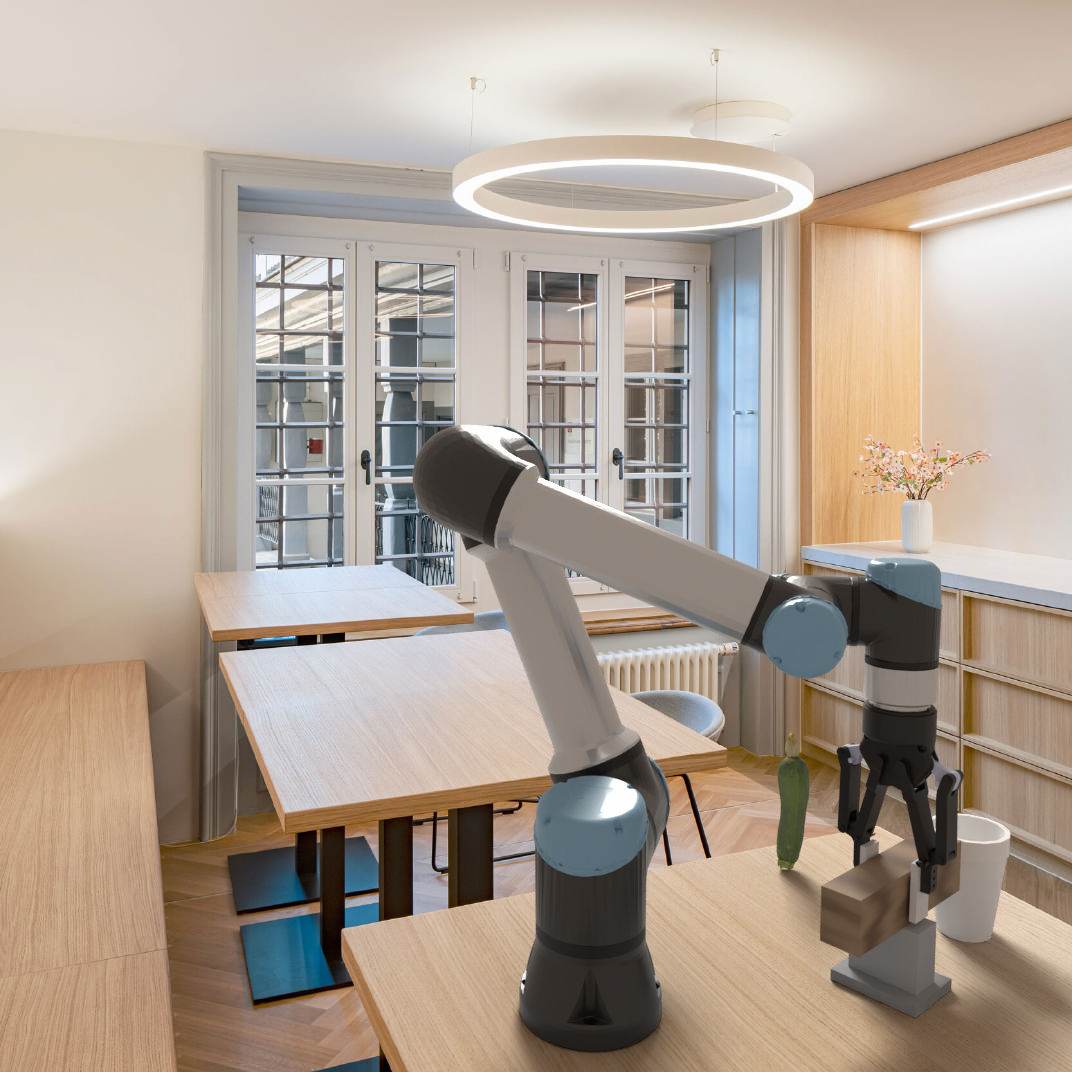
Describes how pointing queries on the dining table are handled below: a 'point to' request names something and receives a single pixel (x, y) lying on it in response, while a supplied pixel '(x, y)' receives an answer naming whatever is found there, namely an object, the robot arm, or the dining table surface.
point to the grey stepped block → (898, 970)
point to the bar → (878, 898)
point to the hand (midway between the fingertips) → (892, 908)
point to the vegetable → (792, 804)
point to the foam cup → (975, 880)
